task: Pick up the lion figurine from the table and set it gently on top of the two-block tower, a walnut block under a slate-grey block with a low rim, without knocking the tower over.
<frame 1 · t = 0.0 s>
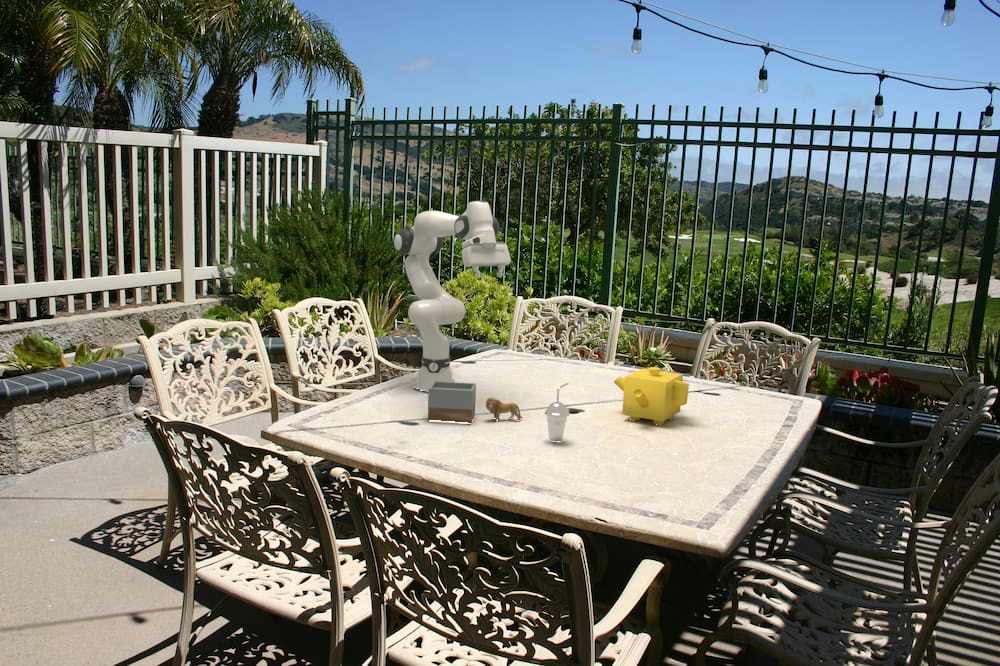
hand: (489, 277, 307), 52 cm above the table, tool tilted 20°, fingers open, 8 cm apart
lion figurine: (503, 421, 302), on the table
cup with straw: (556, 441, 279), on the table
tower top: (452, 404, 300), point 6 cm above the table, touching tower bottom
tower bottom: (451, 420, 301), on the table, touching tower top
yellow teapot: (647, 418, 313), on the table
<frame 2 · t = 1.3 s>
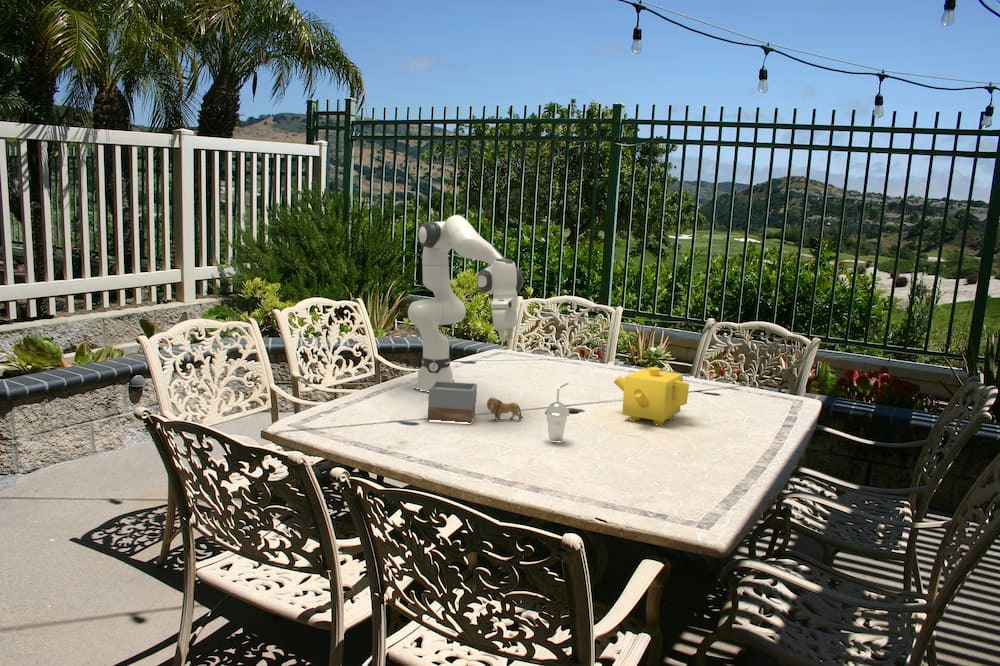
hand: (506, 340, 298), 30 cm above the table, tool pointing down, fingers open, 8 cm apart
nothing on the table moved.
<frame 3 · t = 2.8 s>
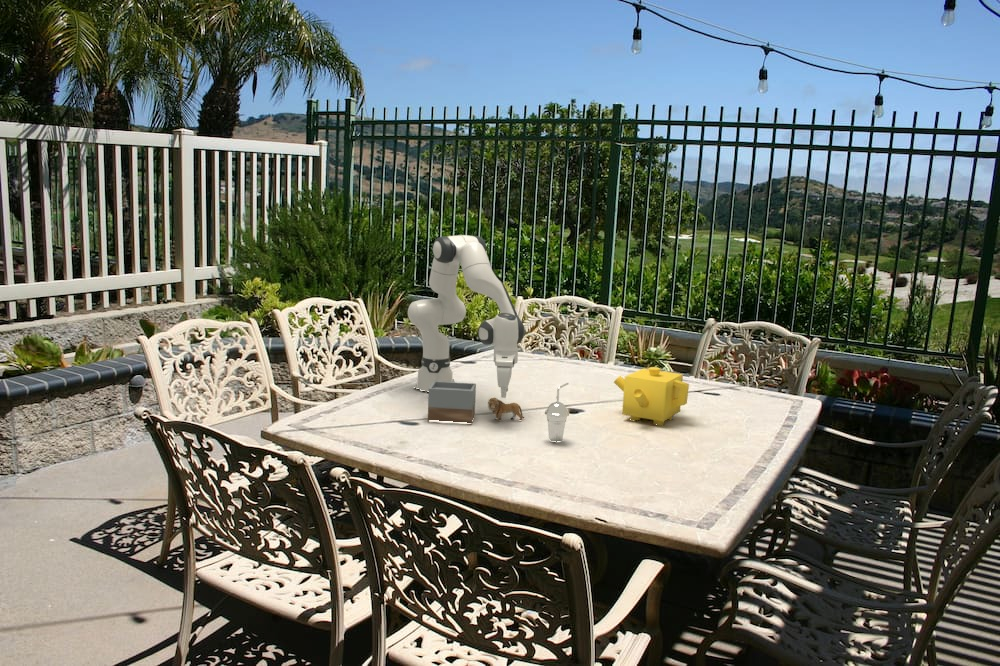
hand: (504, 394, 300), 10 cm above the table, tool pointing down, fingers open, 8 cm apart
nothing on the table moved.
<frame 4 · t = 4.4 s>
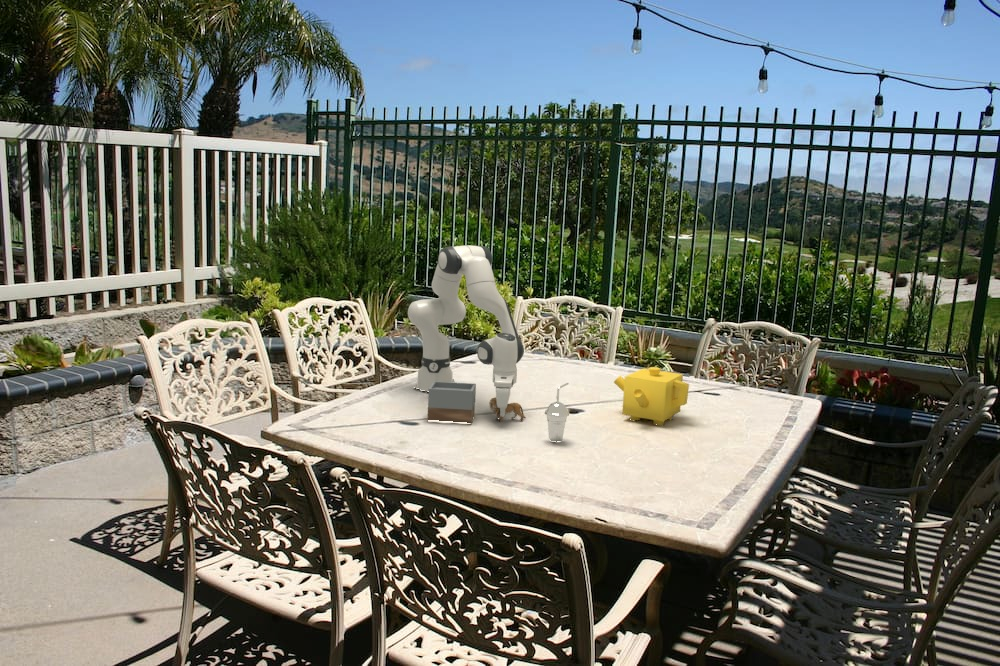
hand: (503, 413, 301), 3 cm above the table, tool pointing down, fingers closed on lion figurine, 4 cm apart
lion figurine: (506, 421, 302), on the table, touching gripper
everything else where it was.
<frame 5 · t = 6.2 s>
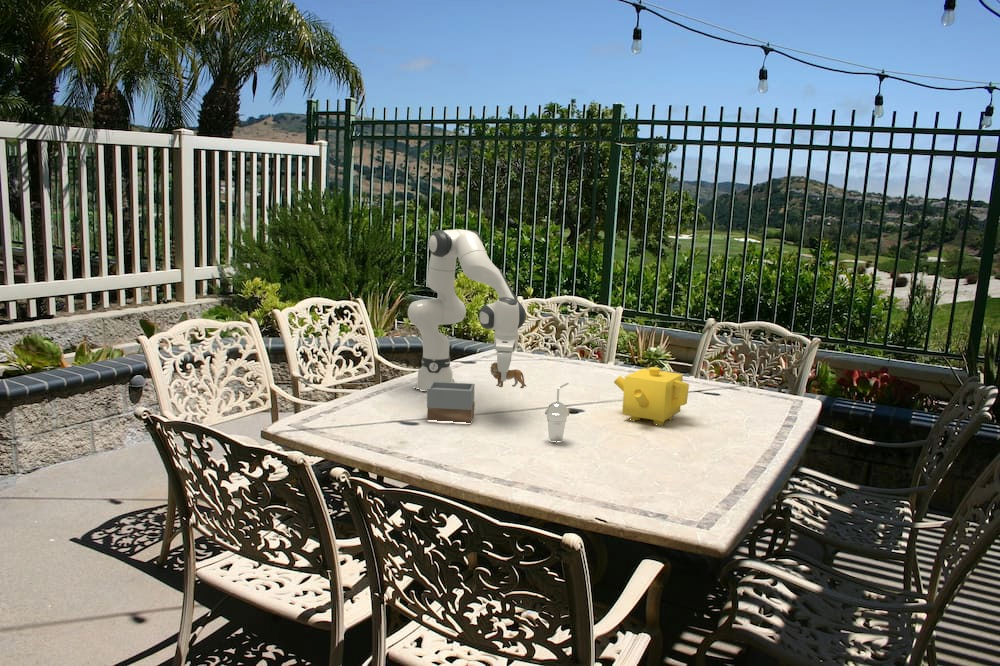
hand: (504, 378, 299), 16 cm above the table, tool pointing down, fingers closed on lion figurine, 4 cm apart
lion figurine: (506, 387, 299), point 13 cm above the table, touching gripper
everything else where it was.
when the fingers open (15 cm above the table, at t = 10.9 s): lion figurine moves 1 cm, resting on tower top.
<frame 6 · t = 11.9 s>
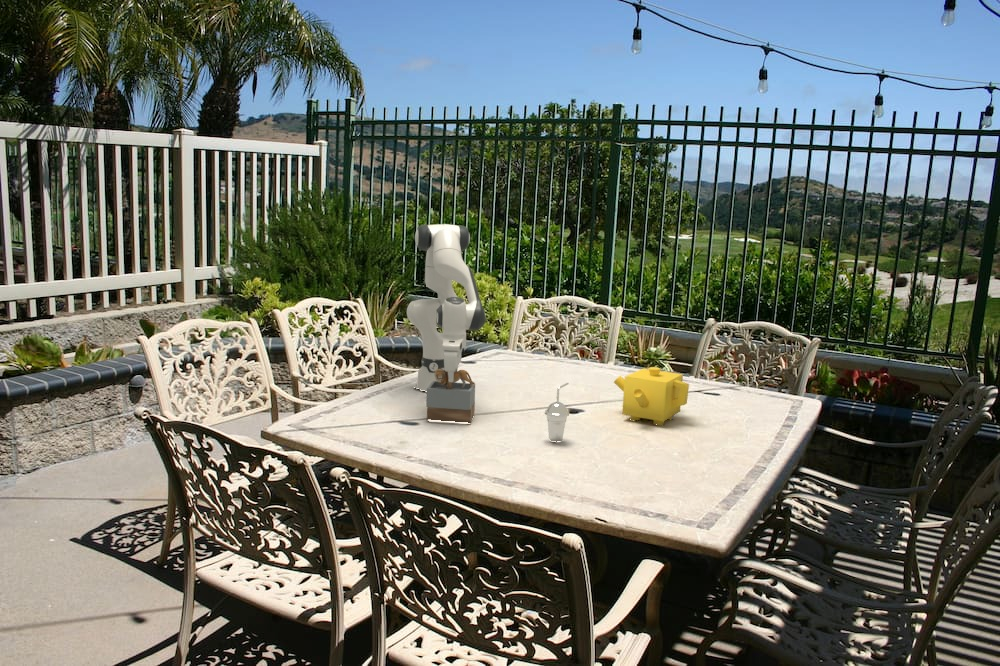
hand: (452, 378, 298), 15 cm above the table, tool pointing down, fingers open, 8 cm apart
lion figurine: (456, 390, 297), point 12 cm above the table, touching tower top
tower top: (450, 404, 300), point 6 cm above the table, touching lion figurine, tower bottom
everything else where it was.
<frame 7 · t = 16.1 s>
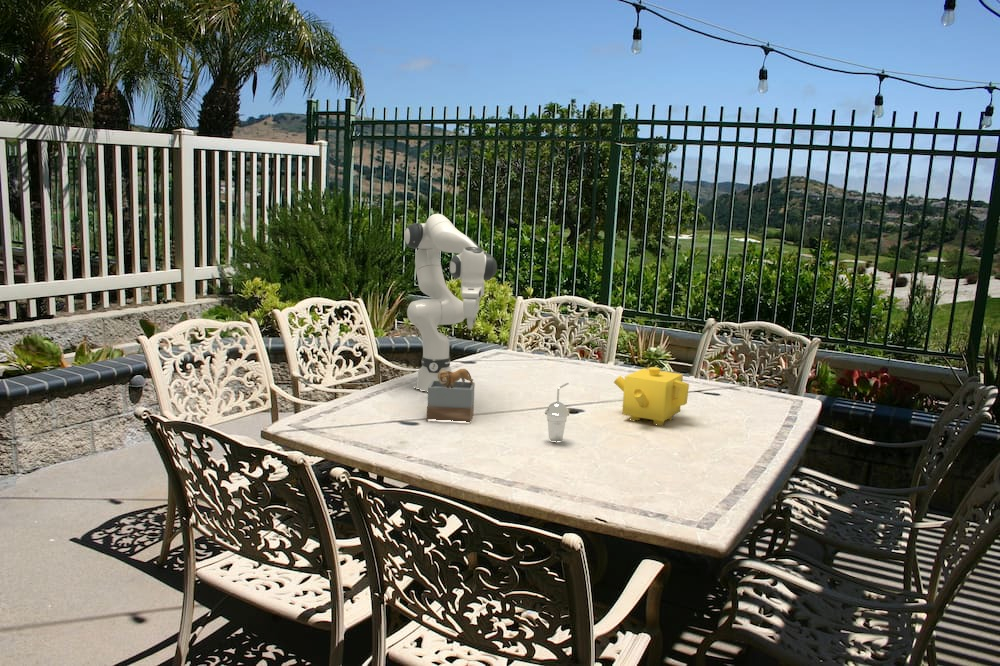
hand: (471, 326, 307), 33 cm above the table, tool pointing down, fingers open, 8 cm apart
lion figurine: (457, 389, 300), point 11 cm above the table, touching tower top
tower top: (451, 403, 302), point 6 cm above the table, touching lion figurine, tower bottom
tower bottom: (450, 419, 302), on the table, touching tower top
everything else where it was.
at the end: lion figurine inside the target area on the tower top (2.3 cm from its centre), point 5.6 cm above the tower top's base; tower top 0.6 cm off-centre on the tower bottom, point 6.0 cm above the tower bottom's base; tower bottom moved 1.3 cm from its start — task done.
